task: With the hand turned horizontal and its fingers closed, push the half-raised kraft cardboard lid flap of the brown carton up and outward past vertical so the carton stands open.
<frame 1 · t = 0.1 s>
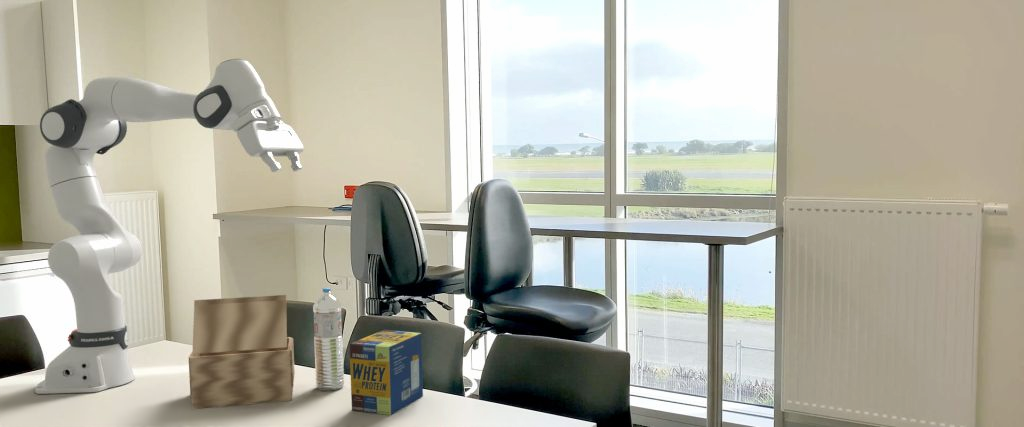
hand: (287, 170, 186), 54 cm above the table, tool tilted 30°, fingers open, 8 cm apart
water bottle: (330, 388, 195), on the table
protein box: (388, 404, 182), on the table
carton flap: (240, 323, 185), point 18 cm above the table, hinge at 60.0°
carton: (245, 396, 189), on the table
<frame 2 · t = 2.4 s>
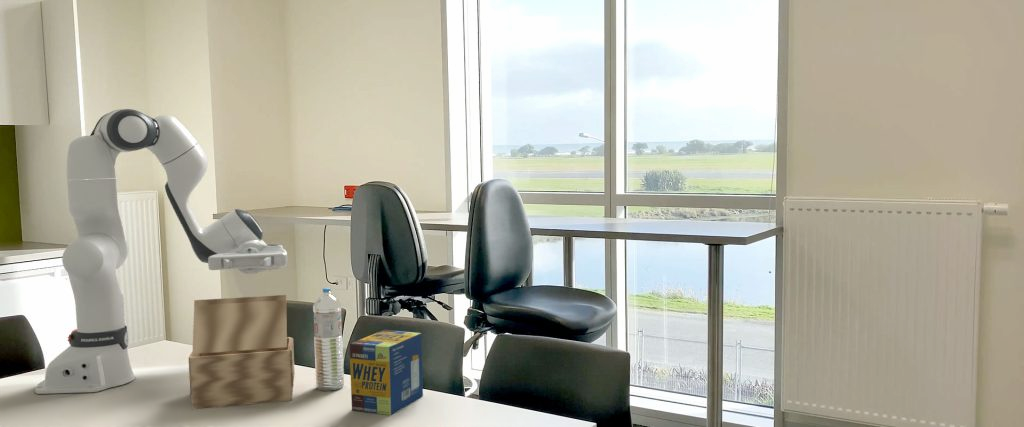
hand: (246, 264, 204), 30 cm above the table, tool horizontal, fingers open, 7 cm apart
nothing on the table moved.
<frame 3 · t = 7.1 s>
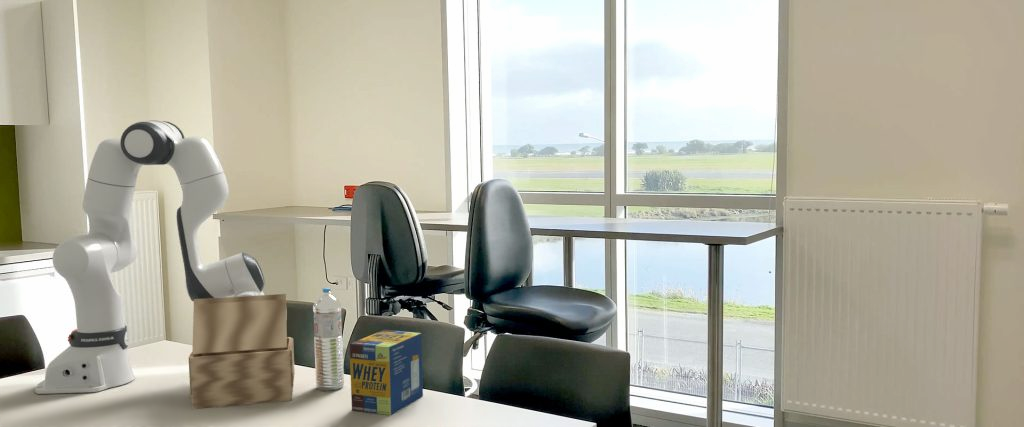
hand: (241, 321, 185), 19 cm above the table, tool horizontal, fingers closed, pressing on carton flap
carton flap: (240, 323, 184), point 19 cm above the table, hinge at 63.8°, touching gripper
everything else where it was.
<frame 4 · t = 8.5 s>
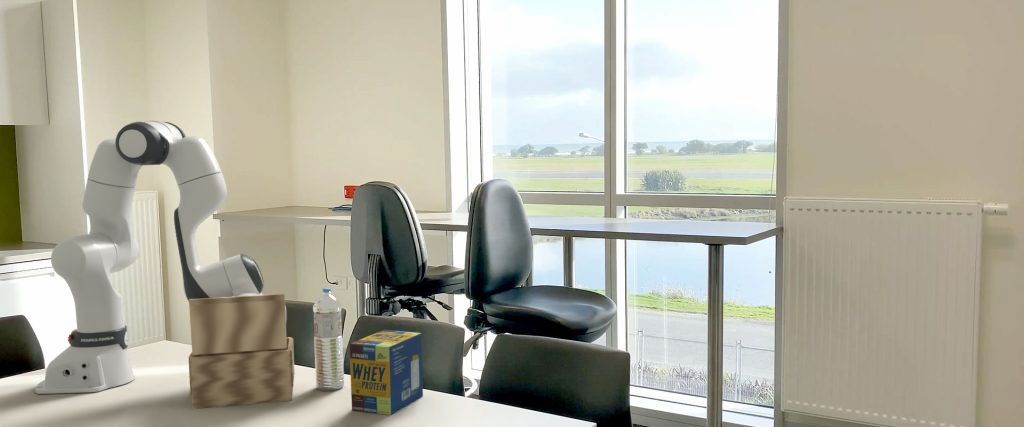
hand: (240, 322, 181), 19 cm above the table, tool horizontal, fingers closed, pressing on carton flap
carton flap: (238, 324, 181), point 19 cm above the table, hinge at 94.7°, touching gripper
everything else where it was.
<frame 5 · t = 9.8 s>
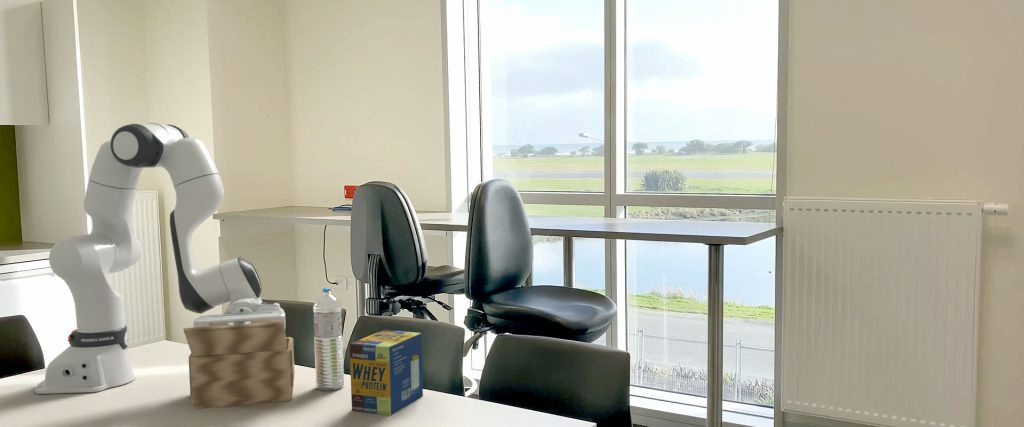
hand: (238, 330, 175), 19 cm above the table, tool horizontal, fingers closed, pressing on carton flap
carton flap: (237, 339, 177), point 17 cm above the table, hinge at 140.8°, touching gripper
everything else where it was.
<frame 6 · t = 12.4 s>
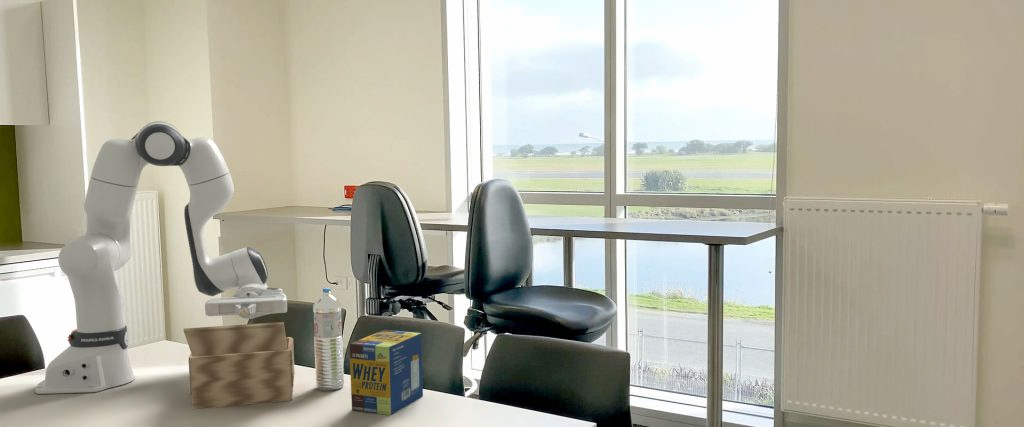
hand: (244, 311, 197), 19 cm above the table, tool horizontal, fingers closed
carton flap: (237, 339, 177), point 17 cm above the table, hinge at 141.2°
everything else where it was.
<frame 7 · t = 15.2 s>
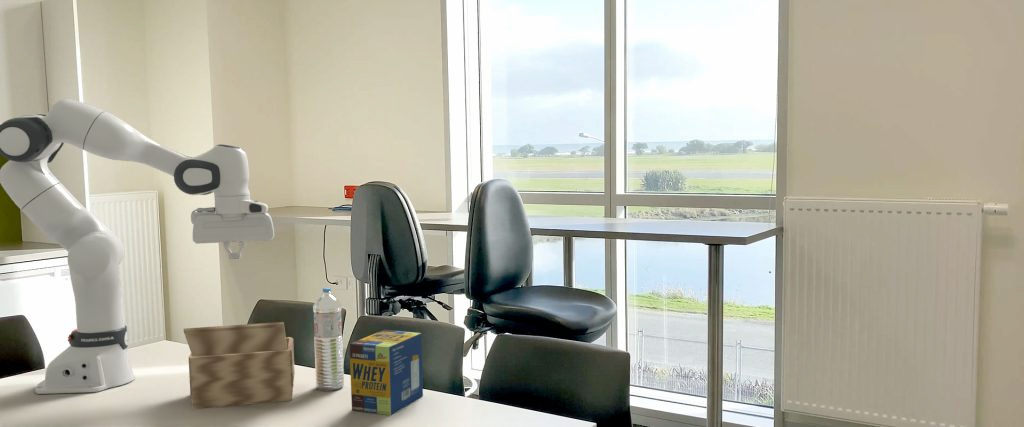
hand: (235, 259, 206), 31 cm above the table, tool pointing down, fingers closed
nothing on the table moved.
at the end: carton flap at +141° (first picture: +60°); water bottle moved 0.2 cm from its start; protein box moved 0.3 cm from its start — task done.
